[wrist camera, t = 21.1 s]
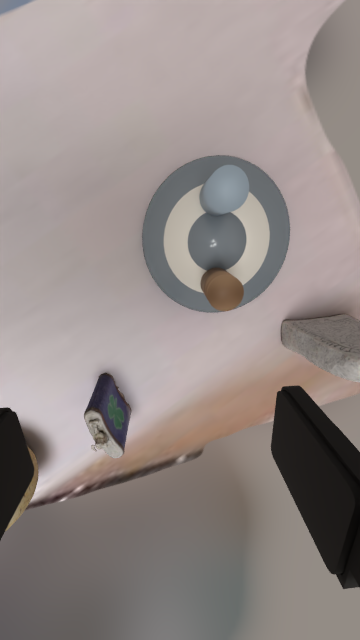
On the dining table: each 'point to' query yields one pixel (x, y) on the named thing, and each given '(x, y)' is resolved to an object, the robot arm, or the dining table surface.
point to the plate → (214, 234)
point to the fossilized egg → (28, 493)
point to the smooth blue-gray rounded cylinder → (224, 190)
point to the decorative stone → (327, 343)
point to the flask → (108, 417)
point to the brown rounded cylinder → (222, 289)
